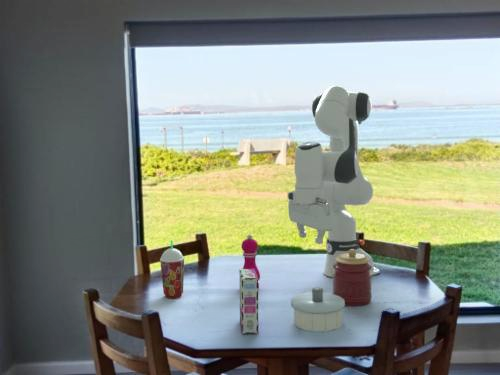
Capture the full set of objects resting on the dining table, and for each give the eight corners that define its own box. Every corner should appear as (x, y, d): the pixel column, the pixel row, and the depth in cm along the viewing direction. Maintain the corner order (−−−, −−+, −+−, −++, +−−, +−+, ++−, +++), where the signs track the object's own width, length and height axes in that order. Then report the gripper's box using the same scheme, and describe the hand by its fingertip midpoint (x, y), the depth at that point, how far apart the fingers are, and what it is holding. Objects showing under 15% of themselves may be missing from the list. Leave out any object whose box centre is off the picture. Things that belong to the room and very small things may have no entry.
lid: (325, 293, 167) (325, 278, 167) (355, 308, 153) (355, 292, 152) (281, 300, 160) (281, 285, 160) (308, 317, 146) (308, 301, 145)
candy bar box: (259, 334, 149) (258, 278, 147) (242, 335, 149) (241, 278, 147) (255, 319, 160) (254, 267, 158) (239, 320, 160) (238, 268, 158)
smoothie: (189, 293, 186) (187, 238, 184) (178, 301, 178) (176, 243, 176) (168, 291, 189) (166, 237, 187) (157, 299, 181) (154, 242, 179)
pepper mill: (258, 291, 187) (257, 237, 185) (238, 290, 189) (237, 236, 186) (261, 285, 194) (261, 232, 192) (242, 284, 196) (241, 232, 194)
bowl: (325, 311, 166) (324, 294, 166) (351, 326, 154) (351, 308, 153) (285, 318, 161) (285, 301, 160) (309, 334, 148) (309, 316, 147)
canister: (363, 309, 168) (364, 255, 166) (326, 302, 174) (326, 251, 172) (376, 297, 179) (377, 247, 177) (341, 291, 185) (341, 243, 183)
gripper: (338, 199, 151) (338, 245, 153) (301, 191, 169) (302, 233, 171) (319, 201, 148) (320, 249, 150) (284, 193, 166) (285, 235, 168)
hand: (310, 240), depth 161 cm, fingers open, 8 cm apart
